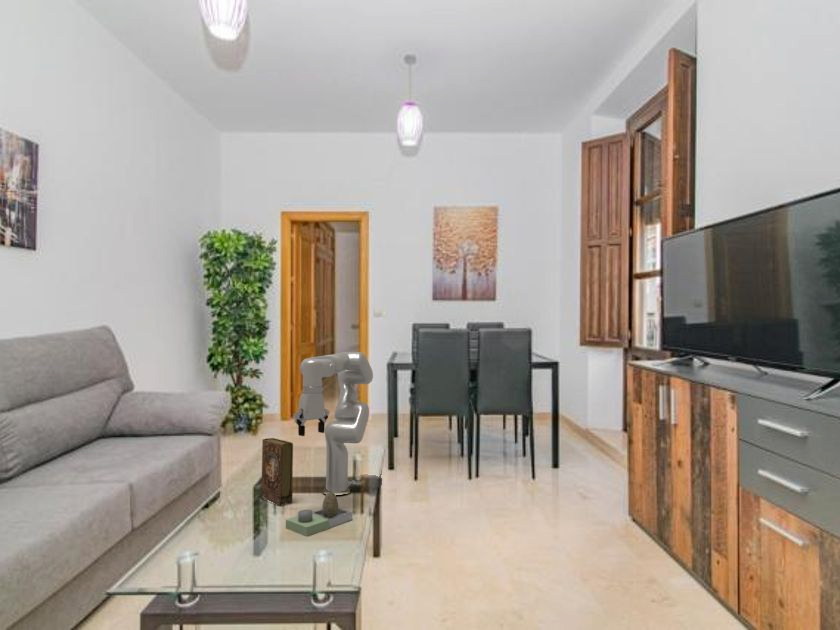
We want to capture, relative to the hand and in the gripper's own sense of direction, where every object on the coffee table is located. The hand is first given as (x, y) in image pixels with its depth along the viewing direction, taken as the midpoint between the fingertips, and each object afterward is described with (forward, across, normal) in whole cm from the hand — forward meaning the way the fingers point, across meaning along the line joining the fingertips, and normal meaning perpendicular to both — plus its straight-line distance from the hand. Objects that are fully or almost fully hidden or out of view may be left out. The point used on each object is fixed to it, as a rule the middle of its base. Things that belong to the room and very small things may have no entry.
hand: (311, 434), depth 204 cm
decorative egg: (+30, +2, +14) cm, 33 cm away
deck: (+30, +12, +14) cm, 36 cm away
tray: (+30, +2, +14) cm, 33 cm away
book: (+31, +1, -22) cm, 38 cm away
